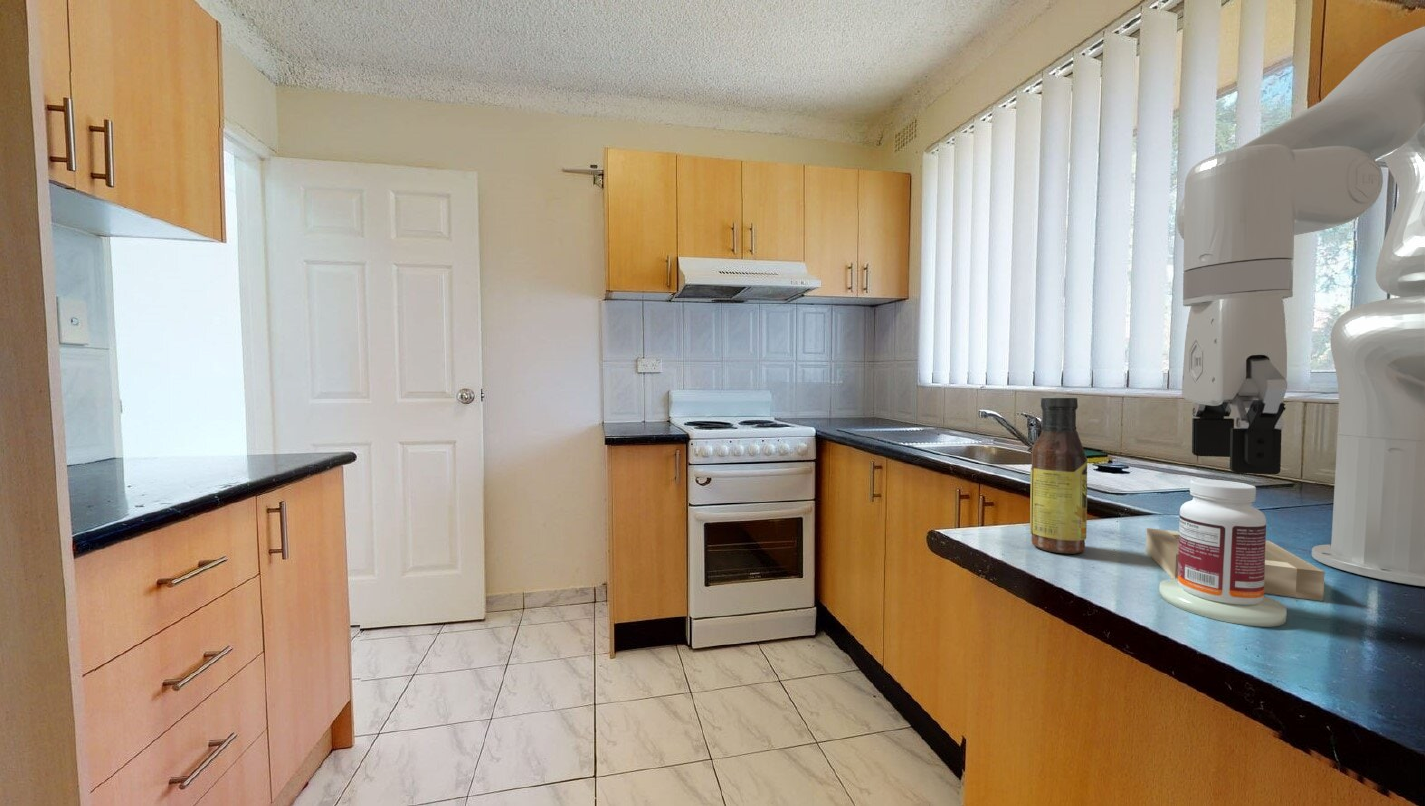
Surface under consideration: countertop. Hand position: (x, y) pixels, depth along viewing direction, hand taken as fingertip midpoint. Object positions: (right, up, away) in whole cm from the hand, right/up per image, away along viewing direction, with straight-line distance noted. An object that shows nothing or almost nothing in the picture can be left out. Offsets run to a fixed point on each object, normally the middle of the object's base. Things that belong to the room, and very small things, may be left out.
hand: (1231, 463), depth 52 cm
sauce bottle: (-5, -13, +18) cm, 23 cm away
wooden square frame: (+8, -14, +9) cm, 18 cm away
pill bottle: (-1, -13, +1) cm, 13 cm away
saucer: (-1, -14, 0) cm, 14 cm away
